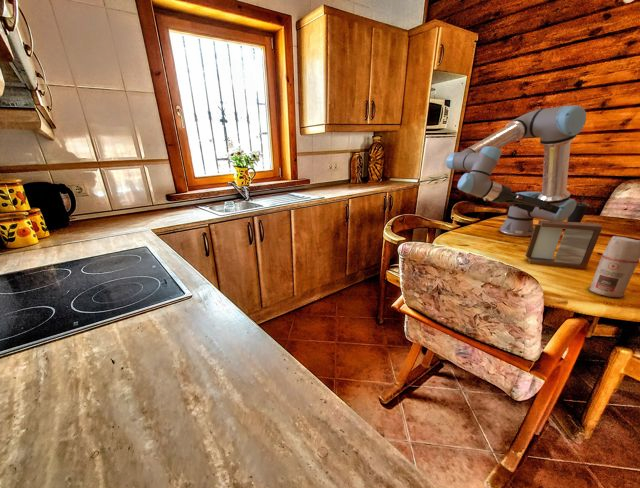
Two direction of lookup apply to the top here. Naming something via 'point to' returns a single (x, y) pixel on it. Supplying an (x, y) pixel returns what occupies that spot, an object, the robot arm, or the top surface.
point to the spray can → (616, 267)
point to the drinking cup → (578, 211)
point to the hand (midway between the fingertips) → (544, 210)
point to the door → (543, 242)
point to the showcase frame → (572, 244)
